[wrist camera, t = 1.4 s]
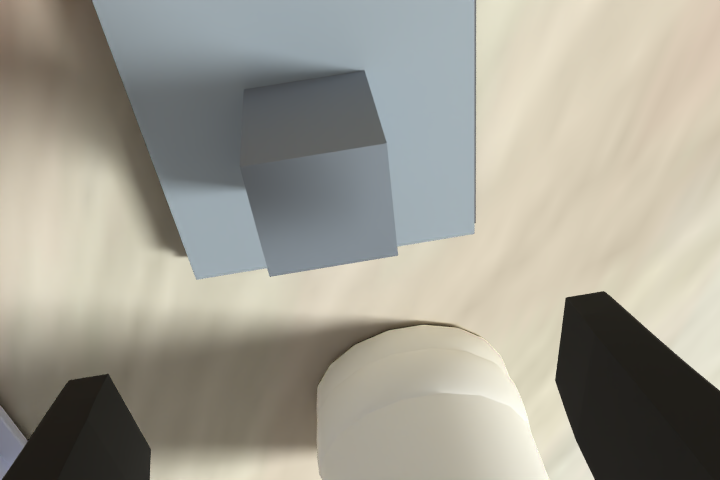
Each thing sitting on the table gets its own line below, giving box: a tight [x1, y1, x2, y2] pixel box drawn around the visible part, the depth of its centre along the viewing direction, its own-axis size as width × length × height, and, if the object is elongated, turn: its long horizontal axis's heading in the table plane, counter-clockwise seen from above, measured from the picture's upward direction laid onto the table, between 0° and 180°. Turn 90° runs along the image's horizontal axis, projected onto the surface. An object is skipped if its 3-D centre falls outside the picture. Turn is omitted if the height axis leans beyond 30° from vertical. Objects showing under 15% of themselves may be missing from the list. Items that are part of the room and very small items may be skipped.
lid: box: [92, 0, 474, 280], centre depth 15 cm, size 8×8×4 cm
